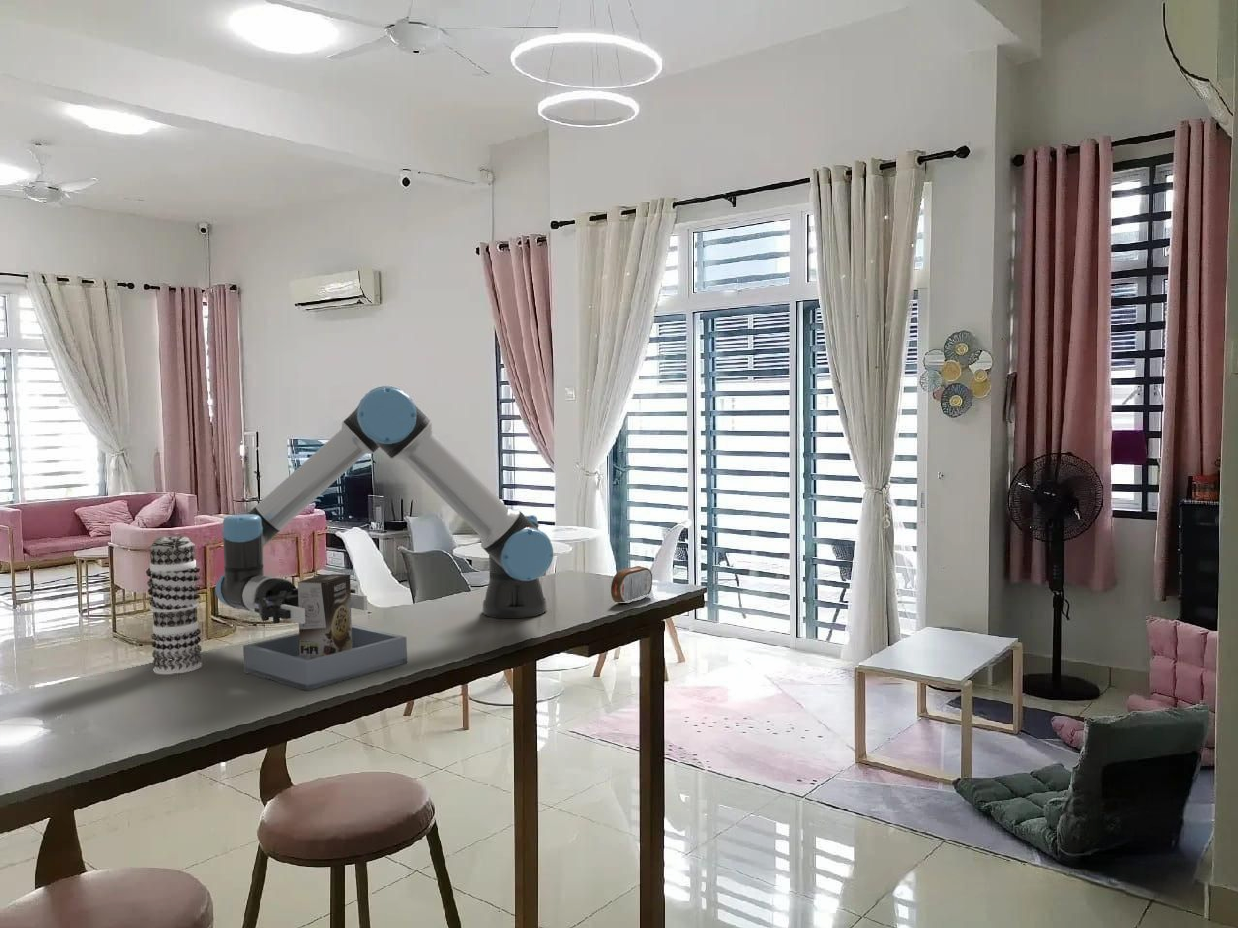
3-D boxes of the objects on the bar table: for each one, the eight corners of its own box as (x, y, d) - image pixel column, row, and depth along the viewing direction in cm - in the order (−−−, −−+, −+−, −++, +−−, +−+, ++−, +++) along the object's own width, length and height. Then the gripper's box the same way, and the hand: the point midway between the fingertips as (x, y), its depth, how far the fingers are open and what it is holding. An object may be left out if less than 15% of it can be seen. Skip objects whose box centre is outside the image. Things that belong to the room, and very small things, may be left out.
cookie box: (330, 669, 173) (327, 582, 172) (298, 667, 174) (295, 581, 173) (354, 655, 182) (351, 573, 181) (323, 654, 183) (321, 572, 182)
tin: (644, 595, 241) (644, 563, 240) (654, 596, 239) (654, 564, 238) (609, 606, 229) (609, 571, 228) (620, 607, 227) (619, 573, 226)
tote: (343, 646, 192) (342, 622, 192) (407, 662, 180) (406, 636, 180) (244, 671, 175) (243, 645, 175) (306, 690, 163) (305, 662, 163)
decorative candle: (179, 676, 173) (173, 542, 171) (139, 673, 175) (133, 540, 174) (214, 663, 181) (209, 535, 180) (175, 660, 184) (170, 533, 182)
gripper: (325, 603, 198) (389, 616, 185) (212, 626, 178) (275, 643, 165) (324, 568, 198) (388, 579, 185) (211, 587, 178) (274, 601, 165)
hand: (335, 609), depth 175 cm, fingers open, 13 cm apart
